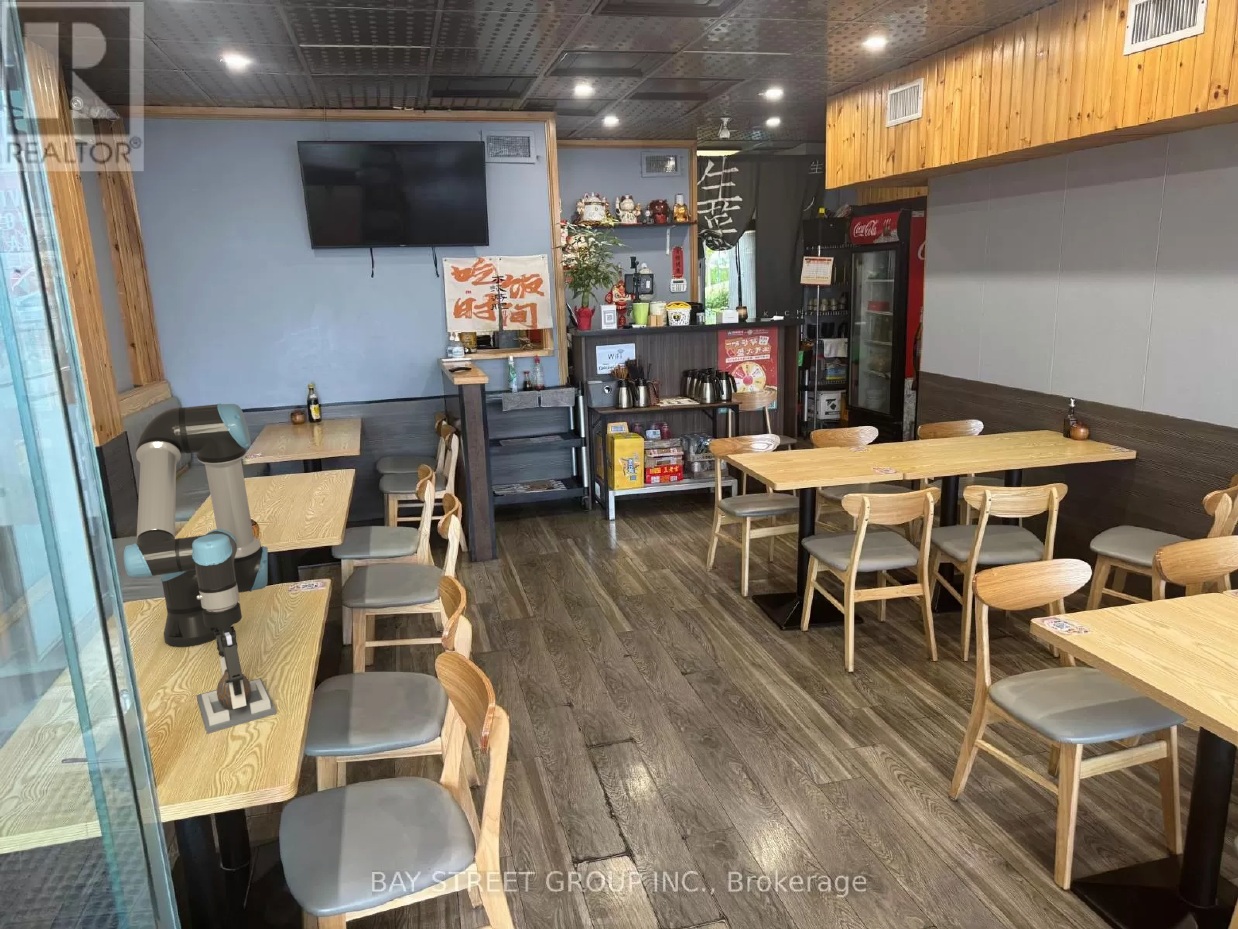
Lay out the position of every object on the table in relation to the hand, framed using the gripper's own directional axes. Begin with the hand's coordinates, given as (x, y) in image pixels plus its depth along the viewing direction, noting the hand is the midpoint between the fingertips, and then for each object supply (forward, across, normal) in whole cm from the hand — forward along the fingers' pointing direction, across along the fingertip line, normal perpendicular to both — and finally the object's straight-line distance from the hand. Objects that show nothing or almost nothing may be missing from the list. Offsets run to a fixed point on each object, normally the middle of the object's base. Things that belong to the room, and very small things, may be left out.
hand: (234, 694), depth 186 cm
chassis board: (+4, -2, 0) cm, 4 cm away
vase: (+3, 0, 0) cm, 3 cm away
